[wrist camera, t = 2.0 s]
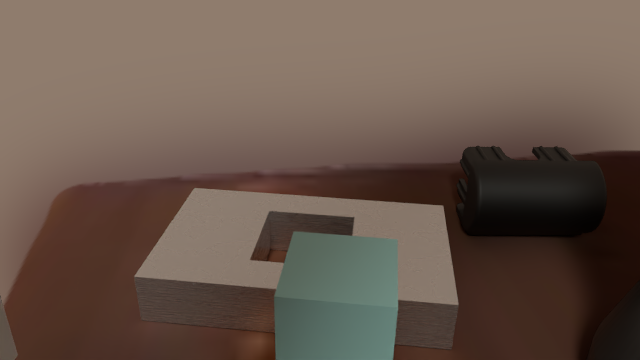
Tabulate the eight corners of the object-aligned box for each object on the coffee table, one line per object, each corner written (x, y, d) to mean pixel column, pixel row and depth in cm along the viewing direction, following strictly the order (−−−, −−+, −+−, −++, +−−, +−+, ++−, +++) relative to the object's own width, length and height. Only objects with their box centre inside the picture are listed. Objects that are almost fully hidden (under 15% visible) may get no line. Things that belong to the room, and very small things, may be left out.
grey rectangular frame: (438, 243, 46) (443, 205, 44) (451, 349, 35) (458, 305, 33) (198, 224, 48) (194, 188, 46) (141, 320, 37) (134, 276, 35)
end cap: (469, 253, 45) (482, 177, 41) (449, 208, 51) (459, 139, 48) (594, 254, 45) (616, 178, 42) (558, 209, 51) (575, 140, 48)
